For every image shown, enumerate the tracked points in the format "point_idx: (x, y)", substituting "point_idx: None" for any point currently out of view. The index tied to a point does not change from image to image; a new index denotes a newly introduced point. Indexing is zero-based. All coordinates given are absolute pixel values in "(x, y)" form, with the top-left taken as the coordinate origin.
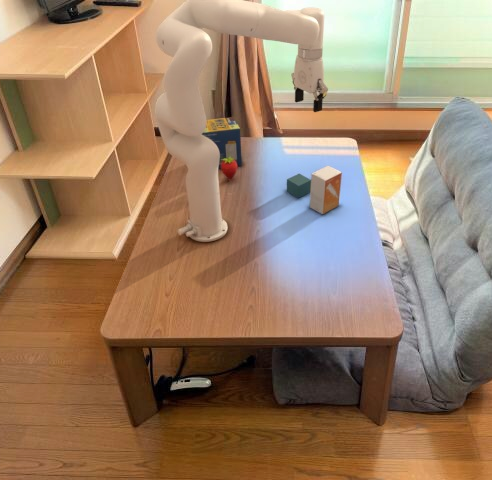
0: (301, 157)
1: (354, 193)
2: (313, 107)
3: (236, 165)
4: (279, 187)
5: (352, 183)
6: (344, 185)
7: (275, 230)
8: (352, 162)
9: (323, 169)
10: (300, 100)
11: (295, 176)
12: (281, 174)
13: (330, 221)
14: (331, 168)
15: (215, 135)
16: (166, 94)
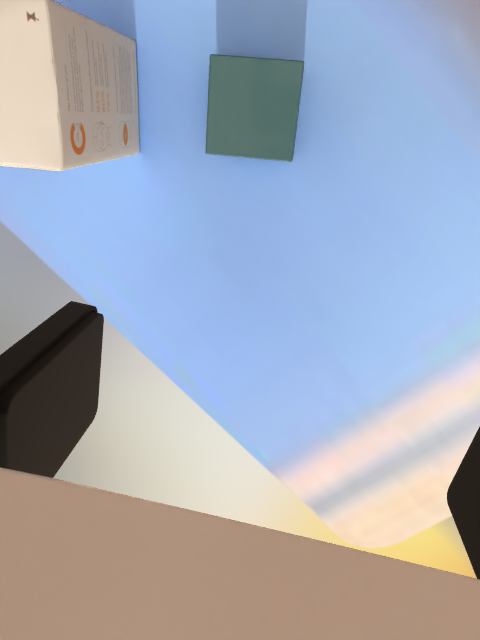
0: (435, 353)
1: (95, 267)
2: (74, 332)
3: None
4: (354, 72)
5: (148, 320)
6: (159, 289)
7: None
8: (247, 436)
9: (40, 106)
10: (468, 465)
11: (286, 120)
12: (422, 177)
13: None
14: (23, 153)
15: None
16: None
